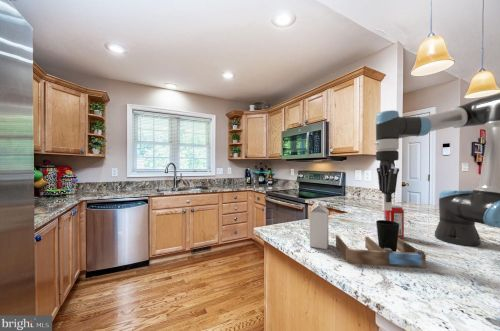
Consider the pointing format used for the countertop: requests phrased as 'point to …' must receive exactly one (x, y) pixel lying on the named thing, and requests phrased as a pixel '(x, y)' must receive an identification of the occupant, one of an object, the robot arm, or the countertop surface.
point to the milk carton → (319, 227)
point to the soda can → (396, 218)
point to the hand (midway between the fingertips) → (387, 209)
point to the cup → (387, 234)
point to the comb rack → (383, 254)
